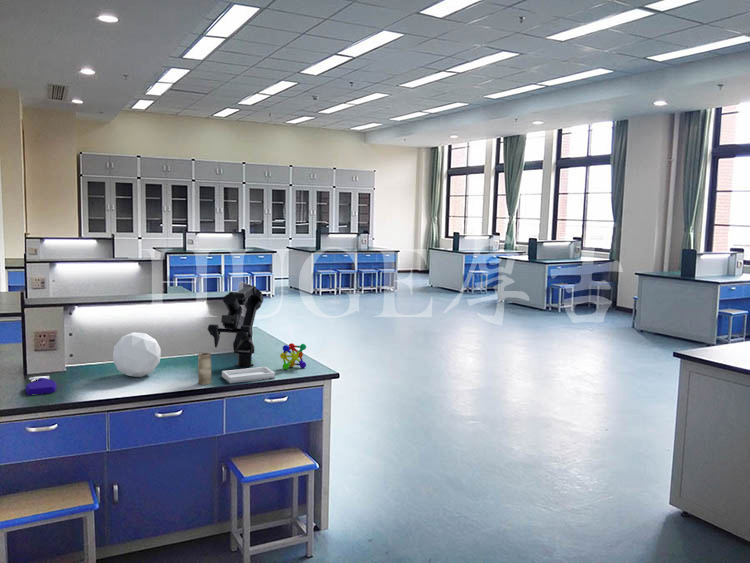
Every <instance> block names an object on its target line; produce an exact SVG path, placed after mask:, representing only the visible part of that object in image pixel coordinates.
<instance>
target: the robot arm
mask: <svg viewBox="0 0 750 563" xmlns="http://www.w3.org/2000/svg"><path fill="white" fill-rule="evenodd" d="M248 286H249V287H248ZM249 297H251V305H250V299H249ZM222 298H223V299H222V302H223V304H224V306H225V308H226V310H227V311H228V312H227V314H222V315H221V319H220V322H221V323H222V326H223V327H220V326H219V324H217V323H216V324H208V326H207V331H208V333H209V334H210V336H212V337H213V341H214V347H215V348H216V349H217V347H218V346H219V341H220V337H221V336H220V335H221V333H227V334H228V333H229V334H235V338H234V340H233V343H232V348H233V354H237V363H234V366H236V367H240V368H241V369H244V368H248V367H253V366H254V364H253V363H252V354H255V345H254V342H253V339H252V337H253V333H254V332H253V325H254V322H255V317H256V314H257V311H258V310H259V309H260V308H261V307H262V304H263V303H264V295H263V292H262V291H261V290H260V289H258V288H257V286H255V285H250V284H249V285H247V284H246V285H244V287H243V288H241V289H240V290H239V291H229V292H228V293H227V294H225V296H223V297H222ZM242 306H246V310H245V315H244V318H243V322H242V325H241V322H240V320H241V316H242V314H243V308H242ZM239 325H241V326H240V328H239Z"/></svg>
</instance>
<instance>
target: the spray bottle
mask: <svg viewBox="0 0 750 563" xmlns="http://www.w3.org/2000/svg"><path fill="white" fill-rule="evenodd" d="M28 379H29V381H30V382H29V383H27V384H26V385H25V393H26V394H27V395H28V396H33V395H32V394H41V395H43V394H42V393H50V394H53V393H52V392H54V393H55V392H56V390H57V383H56V382H55V381H54V380H53V379H50V375H44V376H43V375H42V376H41V375H40V376H33V377H32V376H31V377H29V378H28ZM36 380H37V381H36Z"/></svg>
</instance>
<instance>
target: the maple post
mask: <svg viewBox="0 0 750 563" xmlns="http://www.w3.org/2000/svg"><path fill="white" fill-rule="evenodd" d="M197 356H198V357H197V358H198V359H197V364H198V365H197V367H198V368H197V369H198V372H197V373H198V374H197V375H198V378H197V381H198V382H197V384H198V385H199V386H200V385H202V386H204V385H205V386H206V384H208V385H210V383H211V384H212V353H211V352H200V353H198V354H197Z"/></svg>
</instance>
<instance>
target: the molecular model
mask: <svg viewBox="0 0 750 563" xmlns="http://www.w3.org/2000/svg"><path fill="white" fill-rule="evenodd" d="M297 348H298V349H299V350H298V349H297ZM306 349H307V344H305V343H301V344H300V345H295V344H294V343H291V342H290V343H289V344H288V345H286V344H285V345H283V346H282V350H283V352H281V353H280V355H279V357H280V359H281V360H282V361H283V364H282V369H283V370H288V369H290V368H292V367H294V366H300V368H302V369H304V368H306V366H307V363H306V361H304V360H303V356H304V353H303V351H304V350H306ZM288 353H289V354H288ZM289 358H291V359H290V360H289ZM296 361H297V362H298V363H297V362H296Z"/></svg>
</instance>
